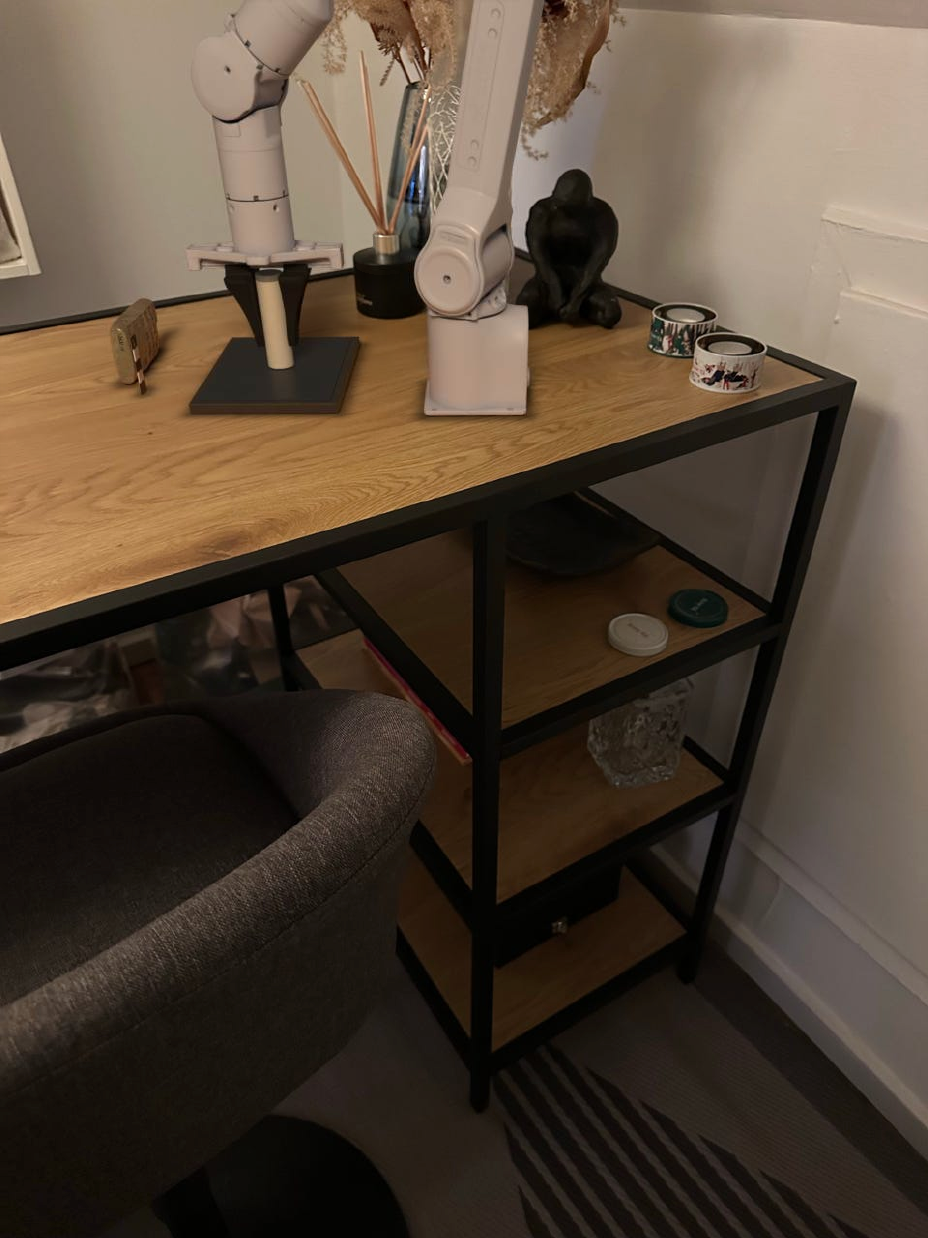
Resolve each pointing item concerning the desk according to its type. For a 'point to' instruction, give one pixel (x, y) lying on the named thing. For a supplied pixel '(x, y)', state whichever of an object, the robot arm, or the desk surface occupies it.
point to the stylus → (273, 319)
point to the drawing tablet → (278, 378)
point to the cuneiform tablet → (135, 341)
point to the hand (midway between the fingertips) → (278, 342)
